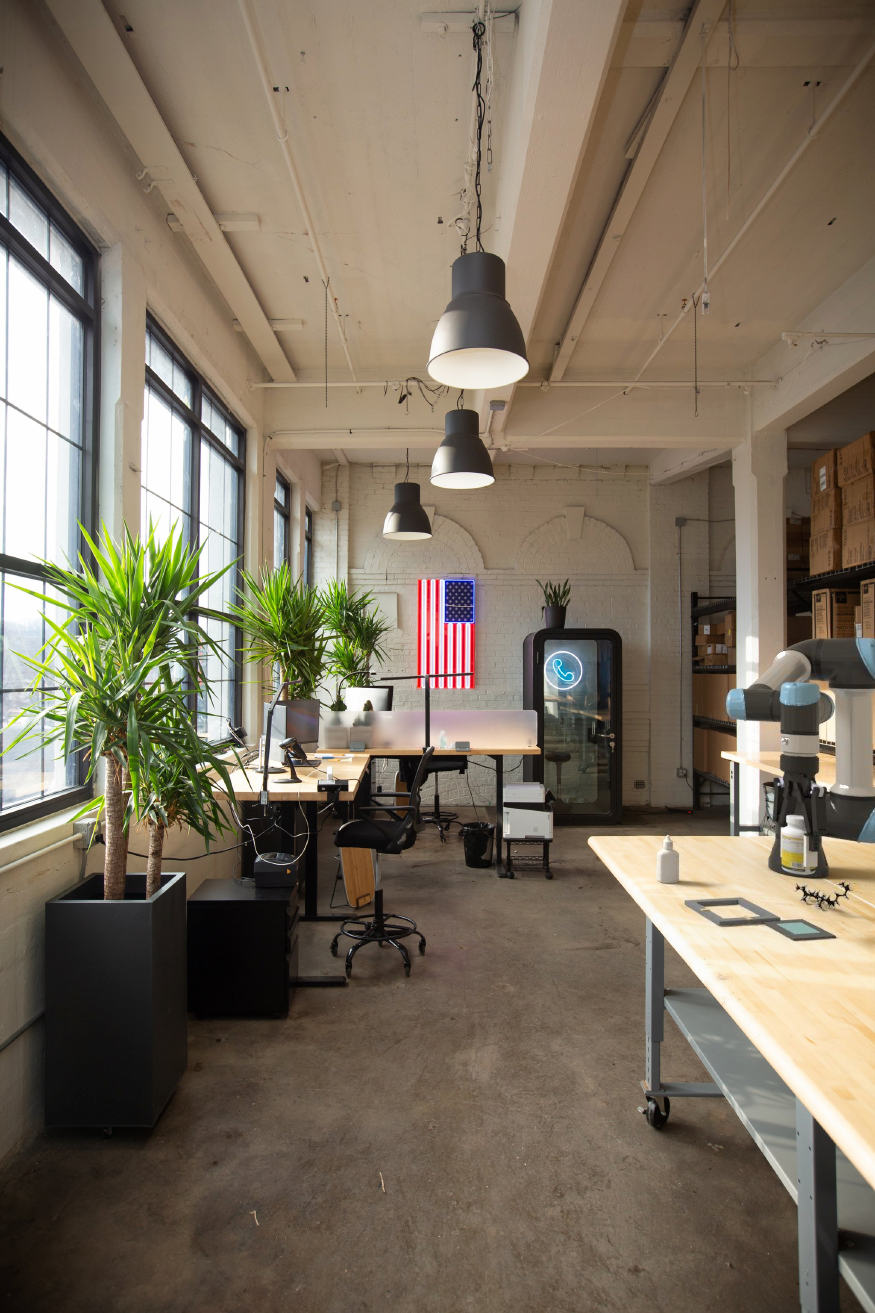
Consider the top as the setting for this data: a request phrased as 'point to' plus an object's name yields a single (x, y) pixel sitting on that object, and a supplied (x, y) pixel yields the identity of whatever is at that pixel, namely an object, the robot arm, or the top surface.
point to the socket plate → (763, 916)
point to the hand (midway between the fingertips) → (798, 861)
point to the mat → (798, 929)
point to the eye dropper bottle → (667, 863)
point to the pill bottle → (794, 846)
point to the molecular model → (823, 897)
